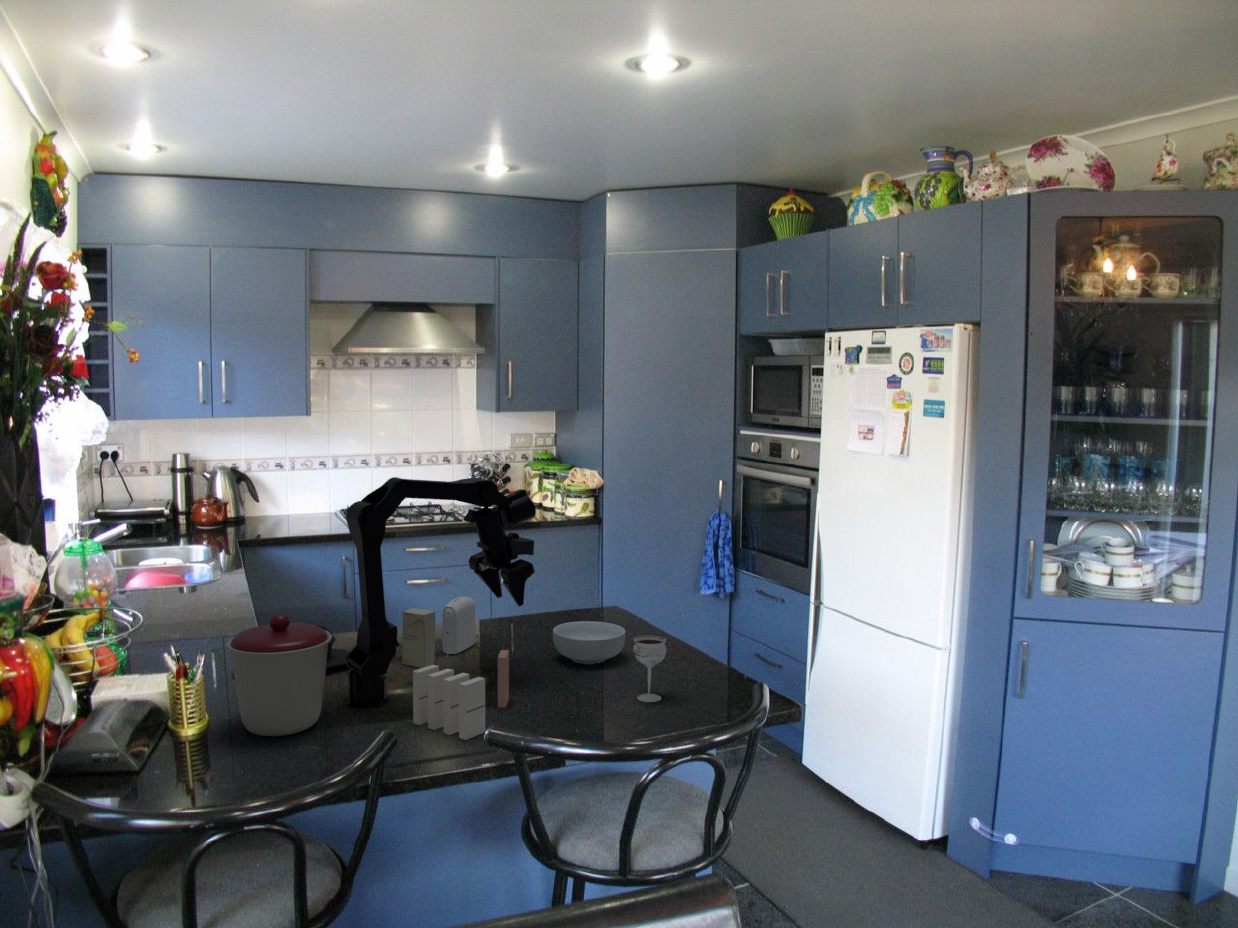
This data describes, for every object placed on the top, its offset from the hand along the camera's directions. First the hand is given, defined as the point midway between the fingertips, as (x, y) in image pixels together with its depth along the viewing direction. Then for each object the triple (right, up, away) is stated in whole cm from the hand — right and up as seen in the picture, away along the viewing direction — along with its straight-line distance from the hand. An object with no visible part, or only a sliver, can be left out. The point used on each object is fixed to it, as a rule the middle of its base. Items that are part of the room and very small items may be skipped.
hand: (510, 601), depth 207 cm
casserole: (-47, -16, +2) cm, 50 cm away
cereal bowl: (+17, -15, +12) cm, 26 cm away
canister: (-38, -19, -32) cm, 53 cm away
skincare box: (-21, -15, +7) cm, 27 cm away
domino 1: (-13, -18, -28) cm, 36 cm away
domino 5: (+1, -18, -18) cm, 25 cm away
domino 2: (-9, -19, -30) cm, 37 cm away
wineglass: (+30, -18, -14) cm, 37 cm away
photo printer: (-14, -14, +19) cm, 28 cm away
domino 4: (-3, -19, -35) cm, 40 cm away
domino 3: (-6, -19, -32) cm, 38 cm away
